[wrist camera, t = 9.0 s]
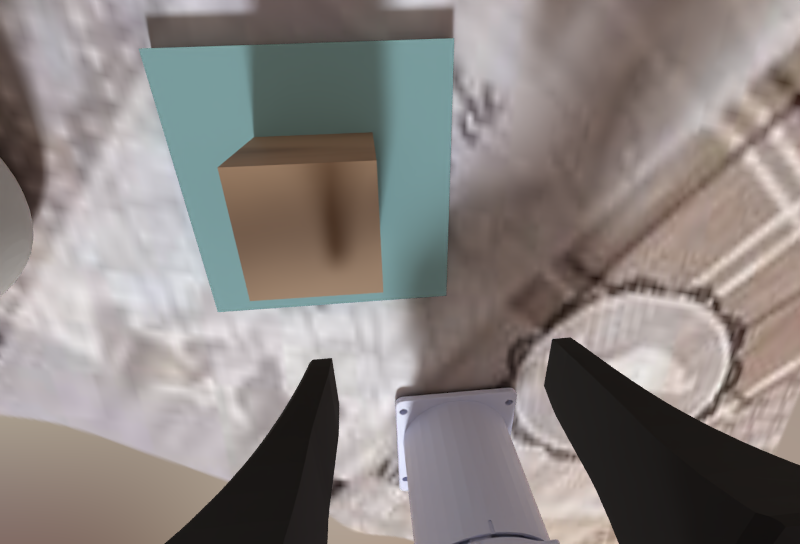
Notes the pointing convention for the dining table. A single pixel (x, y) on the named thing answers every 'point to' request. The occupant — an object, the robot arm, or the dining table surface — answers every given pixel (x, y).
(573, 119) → the dining table surface
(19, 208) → the teacup
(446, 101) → the teal square plate
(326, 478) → the robot arm
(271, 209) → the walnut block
